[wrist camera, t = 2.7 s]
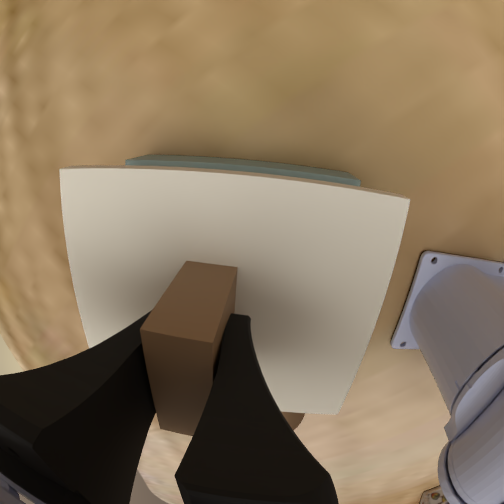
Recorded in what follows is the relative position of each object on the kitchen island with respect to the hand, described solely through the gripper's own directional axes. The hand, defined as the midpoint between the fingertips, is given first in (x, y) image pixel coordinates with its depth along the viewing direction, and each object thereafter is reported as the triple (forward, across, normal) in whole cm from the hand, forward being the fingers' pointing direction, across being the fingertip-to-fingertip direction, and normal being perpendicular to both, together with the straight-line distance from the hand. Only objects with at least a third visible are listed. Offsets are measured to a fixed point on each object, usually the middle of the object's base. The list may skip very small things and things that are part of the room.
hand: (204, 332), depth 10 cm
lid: (+3, 0, 0) cm, 3 cm away
